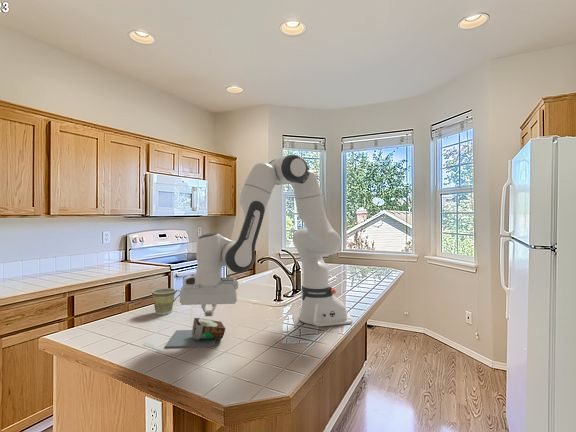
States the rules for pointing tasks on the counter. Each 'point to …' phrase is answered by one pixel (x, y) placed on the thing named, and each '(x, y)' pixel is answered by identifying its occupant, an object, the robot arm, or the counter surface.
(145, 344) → the butter knife
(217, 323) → the food container
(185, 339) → the mat
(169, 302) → the ceramic cup
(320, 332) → the counter surface
